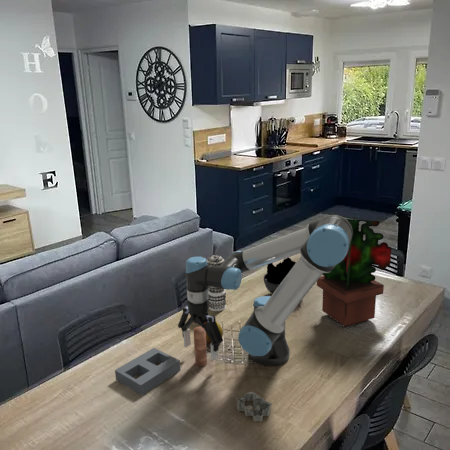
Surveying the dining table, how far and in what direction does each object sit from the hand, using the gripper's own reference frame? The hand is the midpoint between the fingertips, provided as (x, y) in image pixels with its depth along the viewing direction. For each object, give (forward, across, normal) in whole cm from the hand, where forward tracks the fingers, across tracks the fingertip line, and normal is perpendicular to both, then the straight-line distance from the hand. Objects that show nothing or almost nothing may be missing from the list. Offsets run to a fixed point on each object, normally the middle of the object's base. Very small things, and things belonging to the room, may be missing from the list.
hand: (200, 351), depth 168 cm
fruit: (+5, -7, +14) cm, 16 cm away
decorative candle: (+5, -25, +38) cm, 46 cm away
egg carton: (+5, +31, -9) cm, 33 cm away
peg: (+5, 0, 0) cm, 5 cm away
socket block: (+5, -10, -17) cm, 20 cm away
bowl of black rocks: (+5, -6, +66) cm, 66 cm away
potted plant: (+5, +28, +64) cm, 70 cm away
